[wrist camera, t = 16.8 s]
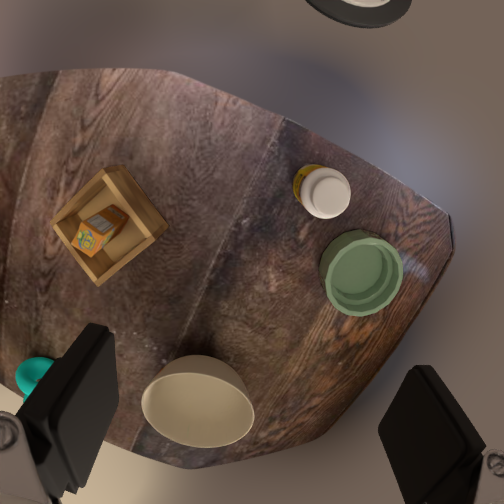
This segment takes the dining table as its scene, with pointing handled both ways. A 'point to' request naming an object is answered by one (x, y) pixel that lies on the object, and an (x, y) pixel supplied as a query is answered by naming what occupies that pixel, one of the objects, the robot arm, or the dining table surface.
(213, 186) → the dining table surface
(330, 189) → the supplement bottle
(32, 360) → the turquoise yo-yo
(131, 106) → the dining table surface
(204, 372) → the bowl
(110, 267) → the wooden holder
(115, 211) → the supplement box
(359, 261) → the green bowl
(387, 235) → the dining table surface
